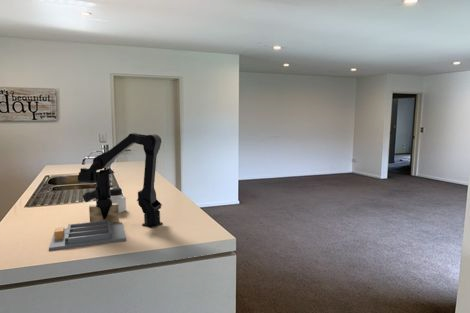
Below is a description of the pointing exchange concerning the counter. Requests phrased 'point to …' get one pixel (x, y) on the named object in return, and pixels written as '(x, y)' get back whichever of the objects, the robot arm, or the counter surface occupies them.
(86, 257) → the counter surface
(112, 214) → the oak divider
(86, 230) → the slotted rack
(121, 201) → the medicine bottle
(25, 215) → the counter surface
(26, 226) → the counter surface
